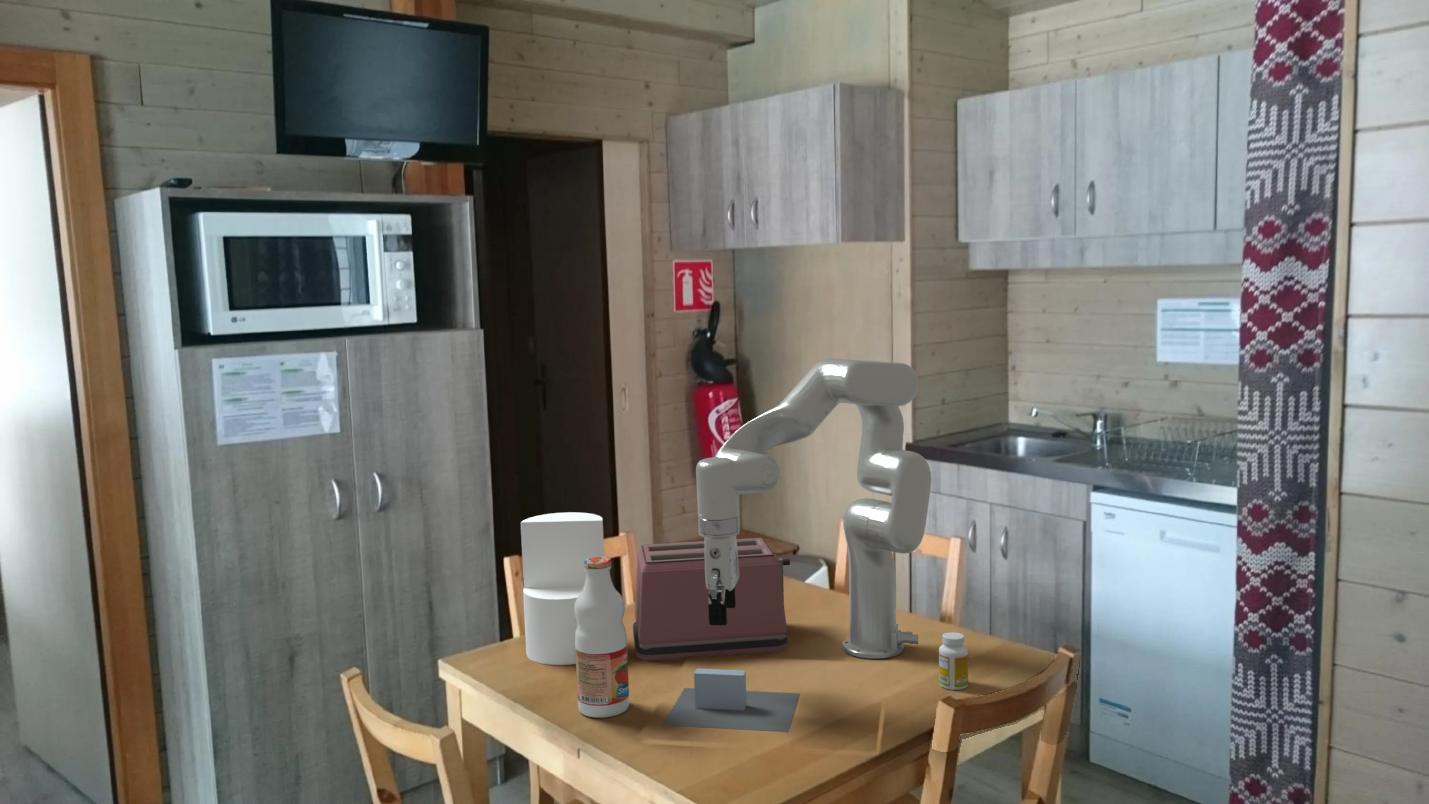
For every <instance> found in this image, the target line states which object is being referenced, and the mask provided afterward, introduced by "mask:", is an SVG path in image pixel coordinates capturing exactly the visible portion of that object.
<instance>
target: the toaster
mask: <svg viewBox="0 0 1429 804" xmlns="http://www.w3.org/2000/svg"><path fill="white" fill-rule="evenodd" d="M736 539H737V549H738V561H739V579H738V581H737V583H736V585H735V603H736V606H735V608H727V624H726V625H710V624H709V608H708V603H709V602H708V601H709V590H708V589H707V588H706V581H705V552H704V540H699V541H698V540H697V541H683V542H665V543H651V544H650V543H648V544H646V543H645V544H642V545H641V546H640V547H639V549H638V551H637V553H636V554H637V555H636V556H637V557H636V559H637V560H636V576H635V578H636V579H635V599H634V600H635V601H634V617H635V621H634V622H633V624H632V634H633V635H632V637H633V643H634V650H635V656H636V658H637V659H638V660H641V661H646V662H648V661H649V662H652V661H653V662H655V661H656V662H657V661H668V660H680V659H688V658H689V656H696V657H697V656H700V657H724V656H737V655H751V654H763V653H765V654H766V653H767V654H768V653H776V652H782V651H785V650H786V649H788V628H787V619H786V610H785V601H784V600H785V595H784V594H785V593H784V591H785V590H784V566H790V565H791V559H790V558H778V556H777V555H776V553H775V552H773V551H772V550H771V548H770V547H769V546H768V544H767V543H766V541H765V540H764V538H762V537H750V538H749V537H748V538H736ZM718 587H722V586H718Z"/></svg>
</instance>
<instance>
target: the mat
mask: <svg viewBox="0 0 1429 804" xmlns="http://www.w3.org/2000/svg"><path fill="white" fill-rule="evenodd" d="M800 695H801V693H800V692H799V693H797V692H782V691H781V692H777V691H776V692H775V691H758V690H755V691H754V690H746V701H747V705H746V708H745V710H725V709H705V708H695V687H694V688H692V687H684V688H683V690H682V691H681V692H680V694H679V696H678V698H677V700H676V701H675V704H674V705H673V707H672V708H671V710H670V712H669V713H668V715H667V717H666V718H665V720H664V722H663V724H662V726H667V727H668V726H670V727H689V728H704V729H705V728H706V729H707V728H708V729H723V730H724V729H726V730H744V731H760V732H780V733H789V731H790V727H791V725H792V722H793V718H794V714H795V711H796V708H797V705H798V702H799V699H800Z"/></svg>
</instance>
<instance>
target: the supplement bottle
mask: <svg viewBox="0 0 1429 804" xmlns="http://www.w3.org/2000/svg"><path fill="white" fill-rule="evenodd" d="M941 640H942V643H943V644H941V645H940V646H939V648H938V684H939V686H940V687H942V688H944V689H945V690H951V691H959V690H964V689H966V688H967V687H968V686H969V650H968V648H967V647H966V646H965V645H964V644H965V635H964V634H962V633H960V632H945V633H943V634H942V639H941Z"/></svg>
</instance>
